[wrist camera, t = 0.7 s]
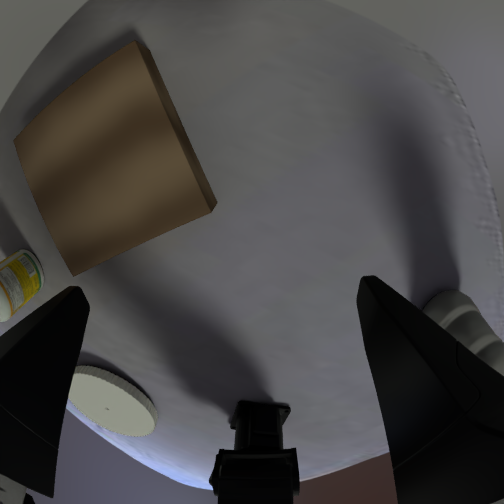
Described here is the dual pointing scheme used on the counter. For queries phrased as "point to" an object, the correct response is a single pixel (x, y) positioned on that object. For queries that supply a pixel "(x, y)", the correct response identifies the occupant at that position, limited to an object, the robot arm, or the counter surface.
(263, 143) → the counter surface
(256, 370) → the counter surface
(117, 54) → the walnut plinth
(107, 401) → the plastic lid
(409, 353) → the robot arm
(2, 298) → the supplement bottle
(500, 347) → the plastic bottle
